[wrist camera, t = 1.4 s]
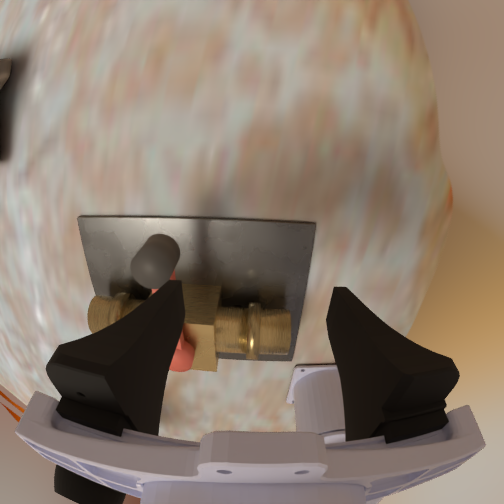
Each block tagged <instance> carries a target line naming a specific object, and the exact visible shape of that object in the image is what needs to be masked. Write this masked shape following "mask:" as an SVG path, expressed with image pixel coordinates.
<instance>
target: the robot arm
mask: <svg viewBox="0 0 504 504" xmlns="http://www.w3.org/2000/svg"><path fill="white" fill-rule="evenodd" d="M185 314H186V313H185V306H184V298H183V289H182V280H168V281H167V282H166V283H165V284H164V285H162V286H161V287H160V288H159V289H158V290H157V291H156V292H155V293H153V294H152V295H151V296H150V297H149V298H148V299H147V300H145V301H144V302H143V303H142V304H140V305H139V306H138V307H136V308H135V309H134V310H133V311H131V312H130V313H129V314H127V315H126V316H124V317H123V318H121V319H119V320H118V321H116V322H115V323H113V324H111V325H109V326H107V327H105V328H103V329H102V330H100V331H98V332H95V333H93V334H91V335H88V336H86V337H83V338H81V339H78V340H75V341H71V342H68V343H65V344H61V345H59V346H58V348H57V349H56V351H55V352H54V354H53V355H52V357H51V359H50V360H49V362H48V364H47V366H46V371H47V375H48V377H49V378H50V380H51V382H52V383H53V385H54V386H55V387H56V389H57V390H58V392H59V393H60V394H61V396H62V398H61V400H60V402H59V401H57V400H56V399H55V398H53V397H51V396H48V395H46V394H43V393H41V392H38V391H35V392H34V394H33V396H32V398H31V400H30V402H29V404H28V406H27V407H26V409H25V411H24V413H23V415H22V417H21V419H20V421H19V424H18V426H17V428H16V430H15V433H16V434H17V435H18V436H19V437H20V438H21V439H22V440H24V441H25V442H26V443H27V444H28V445H29V446H30V447H32V448H33V449H34V450H35V451H37V452H38V453H39V454H40V455H41V456H43V457H44V458H46V459H48V460H50V461H52V462H53V463H55V464H58V465H60V466H62V467H64V468H66V469H68V470H70V471H72V472H74V473H76V474H79V475H81V476H83V477H85V478H87V479H90V480H92V481H94V482H97V483H99V484H102V485H104V486H107V487H109V488H112V489H115V490H118V491H120V492H123V493H126V494H129V495H133V496H135V497H139V498H141V502H140V504H378V503H379V502H380V501H381V500H382V499H383V498H384V497H385V496H389V495H391V494H395V493H397V492H400V491H403V490H406V489H409V488H412V487H414V486H417V485H419V484H422V483H424V482H427V481H429V480H432V479H434V478H437V477H439V476H441V475H443V474H446V473H448V472H450V471H453V470H455V469H456V468H457V467H459V466H460V465H462V464H463V463H465V462H466V461H467V460H469V459H470V458H471V457H473V456H474V455H475V454H476V453H478V452H479V451H480V450H482V449H483V448H484V447H485V445H486V444H485V441H484V439H483V437H482V434H481V432H480V429H479V427H478V424H477V422H476V420H475V418H474V415H473V413H472V411H471V409H470V406H469V405H466V406H463V407H460V408H457V409H454V410H452V411H450V412H448V413H447V414H446V413H445V411H444V408H445V407H446V402H445V400H444V399H445V398H446V397H447V396H448V394H449V393H450V392H451V391H452V389H453V388H454V387H455V385H456V384H457V382H458V379H459V376H460V375H459V371H458V369H457V368H456V366H455V364H454V362H453V360H452V359H451V358H449V357H446V356H443V355H441V354H438V353H435V352H432V351H430V350H428V349H426V348H424V347H422V346H420V345H418V344H416V343H414V342H413V341H411V340H409V339H407V338H406V337H404V336H403V335H401V334H399V333H398V332H397V331H395V330H394V329H392V328H391V327H390V326H388V325H387V324H386V323H385V322H383V321H382V320H381V319H380V318H379V317H377V316H376V315H375V314H374V313H373V312H372V311H371V310H370V309H369V308H368V307H366V306H365V305H364V304H363V303H362V302H361V301H360V300H359V299H358V298H357V297H356V296H355V295H354V294H353V293H352V292H351V291H350V290H349V289H348V288H347V287H334V289H333V293H332V297H331V301H330V306H329V310H328V314H327V318H326V323H327V330H328V336H329V340H330V344H331V348H332V351H333V355H334V358H335V362H336V365H311V366H296V367H295V368H294V371H293V375H292V379H291V383H290V387H289V391H288V395H287V399H286V402H287V403H289V404H294V407H295V419H296V431H297V432H246V431H214V432H211V433H208V434H205V435H203V437H202V439H201V442H192V441H185V440H178V439H172V438H166V437H161V436H158V433H159V423H160V415H161V408H162V401H163V396H164V390H165V385H166V380H167V375H168V371H169V368H170V365H171V362H172V359H173V356H174V353H175V350H176V347H177V345H178V342H179V339H180V336H181V333H182V329H183V324H184V319H185Z"/></svg>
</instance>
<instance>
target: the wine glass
mask: <svg viewBox="0 0 504 504" xmlns="http://www.w3.org/2000/svg"><path fill="white" fill-rule="evenodd" d="M54 488H55V492H56V493H58V494H60V495H62V496H64V497H66V498H68V499H70V500H72V501H74V502H76V503H79V504H122V503H123V501H124V499H125V495H126V493H123V492H120V491H118V490H115V489H112V488H109V487H107V486H104V485H102V484H99V483H97V482H94V481H92V480H90V479H87V478H85V477H83V476H81V475H79V474H76V473H74V472H72V471H70V470H68V469H66V468H64V467H62V466H60V465H58V464H57V465H56V469H55V476H54Z"/></svg>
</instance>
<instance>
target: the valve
mask: <svg viewBox="0 0 504 504" xmlns="http://www.w3.org/2000/svg"><path fill="white" fill-rule="evenodd" d="M77 220H78V225H79V230H80V235H81V240H82V244H83V249H84V253H85V257H86V261H87V265H88V269H89V273H90V277H91V280H92V284H93V287H94V291H95V294H96V296H95V297H94V298H93V299H92V301H91V303H90V305H89V309H88V325H89V329H90V331H91V332H92V334H93V333H95V332H98V331H100V330H102V329H103V328H105V327H107V326H109V325H111V324H113V323H115V322H116V321H118V320H119V319H121V318H123V317H124V316H126V315H127V314H129V313H130V312H131V311H133V310H134V309H135V308H136V307H138V306H139V305H140V304H142V303H143V302H144V301H145V300H147V299H148V298H149V297H150V296H151V295H152V289H149V288H146V287H144V286H142V285H141V284H139V283H138V282H137V281H136V280H135V279H134V277H133V275H132V273H131V269H130V264H131V261H132V259H133V257H134V256H135V255H136V253H137V252H138V251H139V250H140V248H141V247H142V246H143V244H144V243H145V242H146V241H147V239H148V238H149V237H150V236H152V235H154V234H165V235H168V236H170V237H171V238H173V239H174V240H175V241H176V242H177V244H178V245H179V248H180V259H179V261H178V263H177V265H176V267H175V278H176V280H182V289H183V298H184V306H185V313H186V314H185V319H184V324H183V336H184V341H186V342H188V343H189V344H191V345H192V347H193V348H194V350H195V356H194V360H193V364H192V367H191V369H193V370H203V371H214V372H217V366H218V359H219V358H221V359H236V360H258V361H292V357H293V353H294V348H295V343H296V338H297V333H298V328H299V323H300V318H301V313H302V307H303V302H304V296H305V290H306V285H307V279H308V273H309V267H310V260H311V254H312V248H313V241H314V234H315V227H316V224H315V223H307V222H290V221H272V220H252V219H229V218H200V217H159V216H79V217H77Z"/></svg>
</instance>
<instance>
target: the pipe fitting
mask: <svg viewBox="0 0 504 504" xmlns="http://www.w3.org/2000/svg"><path fill="white" fill-rule="evenodd" d="M11 64H12V59H0V90H1V89H2V87H3V85H4V84H5V82H6V81H7V79H8V78H9V76H10V71H11Z"/></svg>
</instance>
